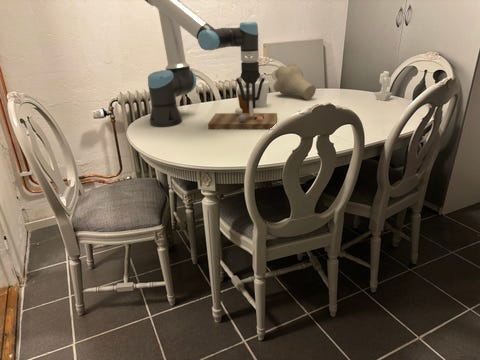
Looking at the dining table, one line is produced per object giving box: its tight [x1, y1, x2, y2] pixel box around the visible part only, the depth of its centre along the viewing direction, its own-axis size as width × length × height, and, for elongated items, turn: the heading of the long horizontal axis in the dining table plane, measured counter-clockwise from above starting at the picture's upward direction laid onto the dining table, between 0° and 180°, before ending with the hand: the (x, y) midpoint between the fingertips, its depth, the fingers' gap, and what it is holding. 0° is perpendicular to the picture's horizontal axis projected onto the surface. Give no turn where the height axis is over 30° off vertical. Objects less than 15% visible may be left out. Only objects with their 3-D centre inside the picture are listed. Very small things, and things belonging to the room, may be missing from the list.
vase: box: [273, 62, 317, 101], centre depth 204 cm, size 22×22×28 cm
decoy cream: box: [234, 107, 242, 115], centre depth 167 cm, size 3×3×3 cm
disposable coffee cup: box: [236, 86, 256, 113], centre depth 179 cm, size 10×10×12 cm
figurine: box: [373, 70, 394, 101], centre depth 192 cm, size 7×9×15 cm
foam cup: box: [250, 80, 270, 109], centre depth 189 cm, size 10×9×13 cm
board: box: [207, 112, 278, 130], centre depth 163 cm, size 30×18×2 cm, turn 83°
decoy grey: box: [238, 114, 246, 122], centre depth 156 cm, size 3×3×3 cm
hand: (251, 115), depth 161 cm, fingers closed
